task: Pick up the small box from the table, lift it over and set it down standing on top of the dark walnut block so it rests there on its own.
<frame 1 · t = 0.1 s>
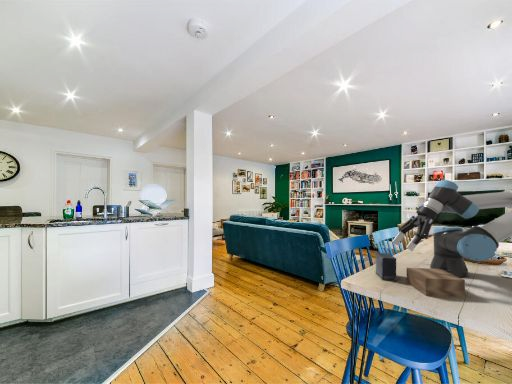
hand: (401, 246, 110), 15 cm above the table, tool tilted 35°, fingers open, 13 cm apart
walnut block: (433, 290, 97), on the table
small box: (385, 277, 112), on the table
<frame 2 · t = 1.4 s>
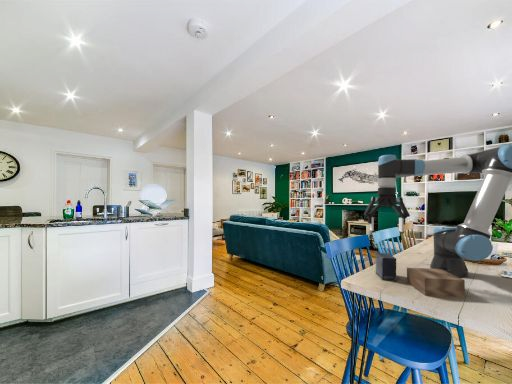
hand: (386, 231, 113), 22 cm above the table, tool pointing down, fingers open, 13 cm apart
nothing on the table moved.
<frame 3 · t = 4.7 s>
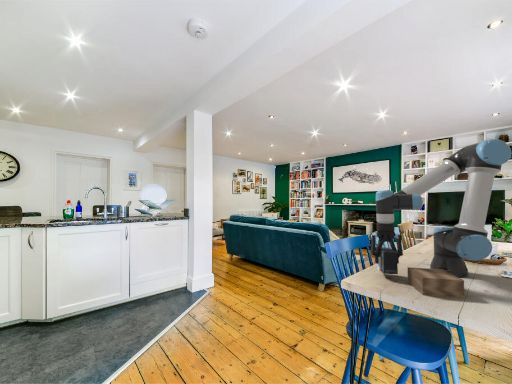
hand: (387, 270, 112), 3 cm above the table, tool pointing down, fingers closed on small box, 7 cm apart
small box: (387, 271, 112), point 3 cm above the table, touching gripper
everything else where it was.
when the fingers open (8 cm above the table, at t = 9.7 s): small box drops 1 cm, resting on walnut block.
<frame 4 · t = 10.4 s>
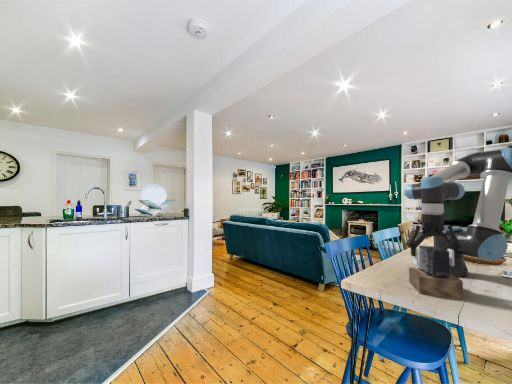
hand: (433, 264, 97), 10 cm above the table, tool pointing down, fingers open, 13 cm apart
walnut block: (433, 290, 97), on the table, touching small box
small box: (433, 273, 97), point 6 cm above the table, touching walnut block
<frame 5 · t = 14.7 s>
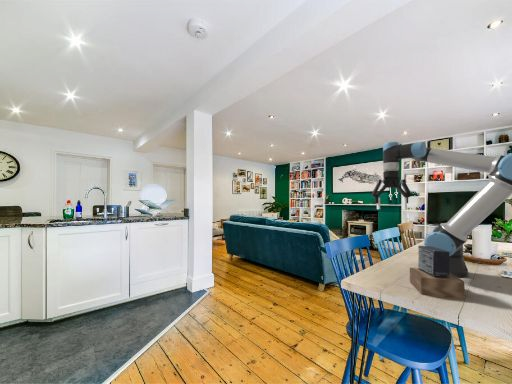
hand: (391, 209, 128), 32 cm above the table, tool pointing down, fingers open, 13 cm apart
nothing on the table moved.
at the end: small box inside the target area on the walnut block (0.6 cm from its centre), point 6.8 cm above the walnut block's base; small box tilted 0°; the gripper is holding nothing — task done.
